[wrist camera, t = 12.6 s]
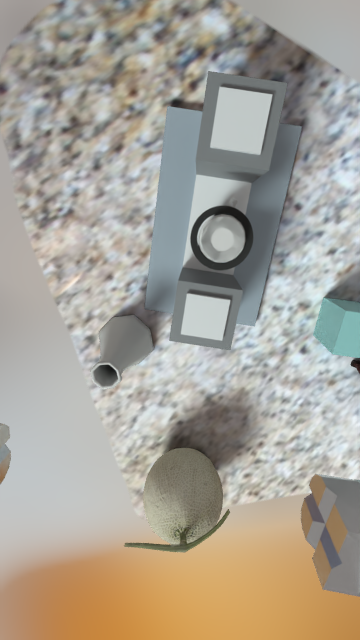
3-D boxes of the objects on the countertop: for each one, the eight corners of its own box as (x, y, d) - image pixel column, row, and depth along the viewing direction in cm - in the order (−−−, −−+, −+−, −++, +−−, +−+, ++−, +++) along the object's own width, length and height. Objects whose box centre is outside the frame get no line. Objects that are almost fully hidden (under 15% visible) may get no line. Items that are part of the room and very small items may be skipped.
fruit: (234, 477, 47) (250, 588, 33) (165, 494, 49) (151, 606, 35) (212, 422, 44) (218, 517, 30) (139, 442, 46) (113, 541, 32)
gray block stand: (299, 129, 32) (343, 88, 22) (253, 323, 39) (271, 358, 29) (168, 109, 32) (155, 60, 23) (145, 306, 39) (127, 335, 29)
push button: (212, 188, 33) (217, 175, 24) (255, 212, 34) (277, 209, 24) (184, 244, 35) (178, 253, 26) (224, 266, 36) (234, 283, 26)
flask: (163, 351, 41) (152, 390, 32) (117, 372, 43) (94, 415, 33) (137, 305, 39) (117, 331, 30) (90, 328, 41) (57, 360, 31)
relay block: (345, 310, 32) (323, 297, 38) (332, 354, 34) (313, 334, 39) (393, 317, 32) (364, 302, 38) (377, 360, 33) (351, 340, 39)
